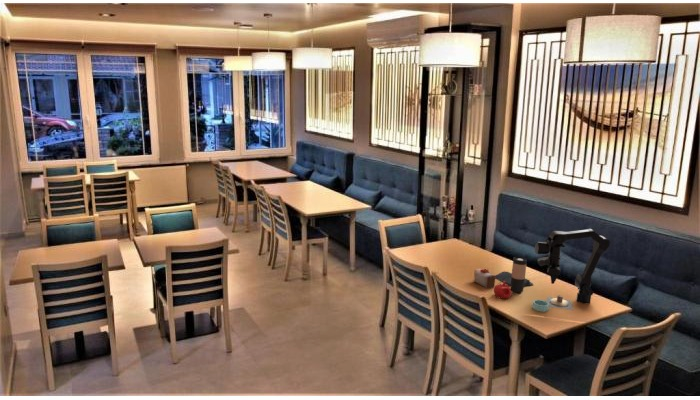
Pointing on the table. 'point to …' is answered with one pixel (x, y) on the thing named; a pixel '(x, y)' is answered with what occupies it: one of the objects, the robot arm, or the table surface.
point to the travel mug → (518, 274)
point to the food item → (484, 278)
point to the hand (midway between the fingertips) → (552, 280)
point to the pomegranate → (502, 290)
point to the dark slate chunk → (509, 279)
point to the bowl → (540, 305)
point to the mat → (559, 306)
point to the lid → (559, 301)
